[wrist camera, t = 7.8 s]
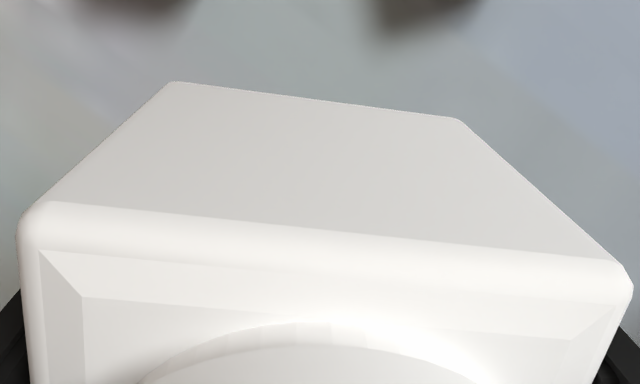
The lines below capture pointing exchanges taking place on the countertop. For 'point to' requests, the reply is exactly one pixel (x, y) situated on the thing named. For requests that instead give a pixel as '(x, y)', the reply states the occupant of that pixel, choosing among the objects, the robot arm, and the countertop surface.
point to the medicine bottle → (306, 254)
